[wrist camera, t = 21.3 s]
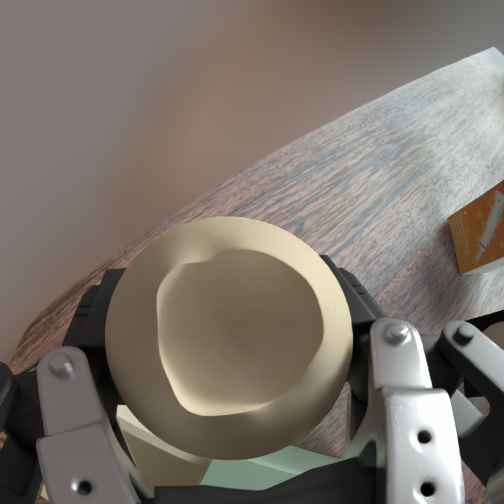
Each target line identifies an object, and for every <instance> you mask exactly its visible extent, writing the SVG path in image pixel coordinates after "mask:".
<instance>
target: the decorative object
mask: <svg viewBox="0 0 504 504" xmlns="http://www.w3.org/2000/svg"><path fill="white" fill-rule="evenodd" d="M465 322H468V323H470V324H472V325H473V326H475V327H476V328H477V329H478V330H480V331H481V332H482V333H483V334H484V335H486V336H487V337H488V338H489V339H490V340H492V341H493V342H494V343H495V344H496V345H497V346H499V347H500V348H501V349H502V350H503V351H504V310H501V311H498V312H494V313H491V314H488V315H484V316H481V317H477V318H473V319H470V320H466V321H465ZM463 381H464V391H465V397H466V398H470V397H481V396H483V395H482V394H481V393H480V392H479V391H478V390H477V389H476V388H475V387H474V386H473V385H472V384H471V383H470V382H469V381H468V380H467V379H466V378H464V380H463Z"/></svg>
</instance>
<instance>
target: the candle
mask: <svg viewBox="0 0 504 504" xmlns="http://www.w3.org/2000/svg"><path fill="white" fill-rule="evenodd" d="M105 347H106V355H107V362H108V365H109V369H110V372H111V376H112V379H113V381H114V383H115V386H116V388H117V390H118V392H119V394H120V396H121V398H122V399H123V401H124V403H125V404H126V406H127V407H128V409H129V410H130V411H131V412H132V414H133V415H134V416H135V417H136V418H137V420H138V421H139V422H140V423H141V424H142V425H143V426H145V427H146V428H147V429H148V430H149V431H150V432H151V433H152V434H154V435H155V436H157V437H158V438H160V439H161V440H163V441H164V442H166V443H167V444H169V445H171V446H173V447H175V448H177V449H179V450H181V451H184V452H187V453H190V454H193V455H196V456H199V457H204V458H209V459H215V460H245V459H252V458H257V457H261V456H265V455H268V454H271V453H274V452H277V451H280V450H282V449H284V448H286V447H288V446H290V445H291V444H293V443H295V442H297V441H298V440H300V439H301V438H302V437H304V436H305V435H307V434H308V433H309V432H310V431H311V430H313V429H314V428H315V427H316V426H317V425H318V424H319V423H320V422H321V421H322V420H323V418H324V417H325V416H326V415H327V414H328V412H329V411H330V410H331V408H332V407H333V405H334V404H335V402H336V400H337V399H338V397H339V395H340V393H341V391H342V389H343V386H344V384H345V382H346V379H347V375H348V372H349V369H350V364H351V358H352V351H353V331H352V324H351V316H350V312H349V307H348V304H347V301H346V299H345V296H344V293H343V291H342V289H341V287H340V285H339V283H338V281H337V279H336V277H335V276H334V274H333V273H332V271H331V270H330V269H329V267H328V266H327V264H326V263H325V262H324V261H323V260H322V259H321V258H320V256H319V255H318V254H317V253H316V252H315V251H313V250H312V249H311V248H310V247H309V246H308V245H307V244H305V243H304V242H303V241H301V240H300V239H298V238H297V237H295V236H294V235H292V234H290V233H289V232H287V231H285V230H283V229H281V228H279V227H276V226H274V225H271V224H268V223H266V222H262V221H258V220H254V219H249V218H241V217H213V218H205V219H201V220H197V221H193V222H189V223H186V224H184V225H181V226H179V227H176V228H174V229H172V230H170V231H168V232H167V233H165V234H163V235H161V236H160V237H158V238H157V239H156V240H154V241H153V242H151V243H150V244H149V245H147V246H146V247H145V248H144V249H143V250H142V251H141V252H140V253H139V254H138V255H137V256H136V257H135V258H134V260H133V261H132V262H131V263H130V265H129V266H128V267H127V268H126V270H125V272H124V273H123V275H122V277H121V278H120V280H119V282H118V284H117V286H116V288H115V291H114V293H113V295H112V298H111V301H110V305H109V309H108V312H107V319H106V326H105Z"/></svg>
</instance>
